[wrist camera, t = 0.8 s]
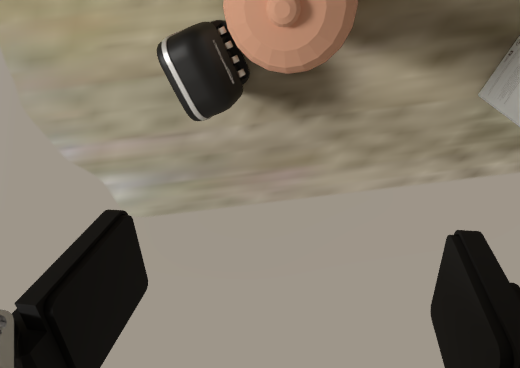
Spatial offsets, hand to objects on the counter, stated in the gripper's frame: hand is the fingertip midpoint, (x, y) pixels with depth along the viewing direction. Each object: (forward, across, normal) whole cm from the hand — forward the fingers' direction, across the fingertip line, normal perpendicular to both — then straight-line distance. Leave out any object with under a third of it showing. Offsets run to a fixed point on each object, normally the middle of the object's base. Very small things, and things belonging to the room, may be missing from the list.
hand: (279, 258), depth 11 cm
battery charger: (+30, +9, -1) cm, 31 cm away
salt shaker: (+30, +1, -6) cm, 30 cm away
